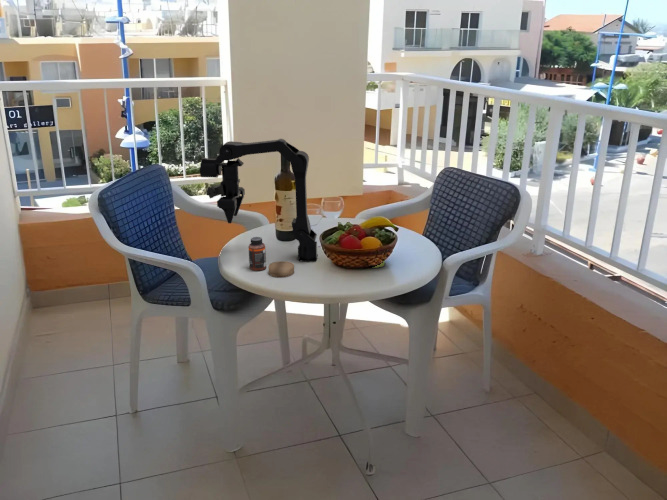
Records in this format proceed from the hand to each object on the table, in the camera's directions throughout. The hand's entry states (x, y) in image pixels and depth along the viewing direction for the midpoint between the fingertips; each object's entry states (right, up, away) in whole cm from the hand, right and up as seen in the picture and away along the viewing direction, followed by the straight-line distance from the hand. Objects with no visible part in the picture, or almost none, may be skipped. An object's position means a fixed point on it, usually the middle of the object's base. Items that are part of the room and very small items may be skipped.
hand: (232, 219), depth 212 cm
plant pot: (+52, -17, -3) cm, 55 cm away
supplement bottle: (+10, -18, -5) cm, 21 cm away
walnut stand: (+19, -19, -9) cm, 28 cm away
